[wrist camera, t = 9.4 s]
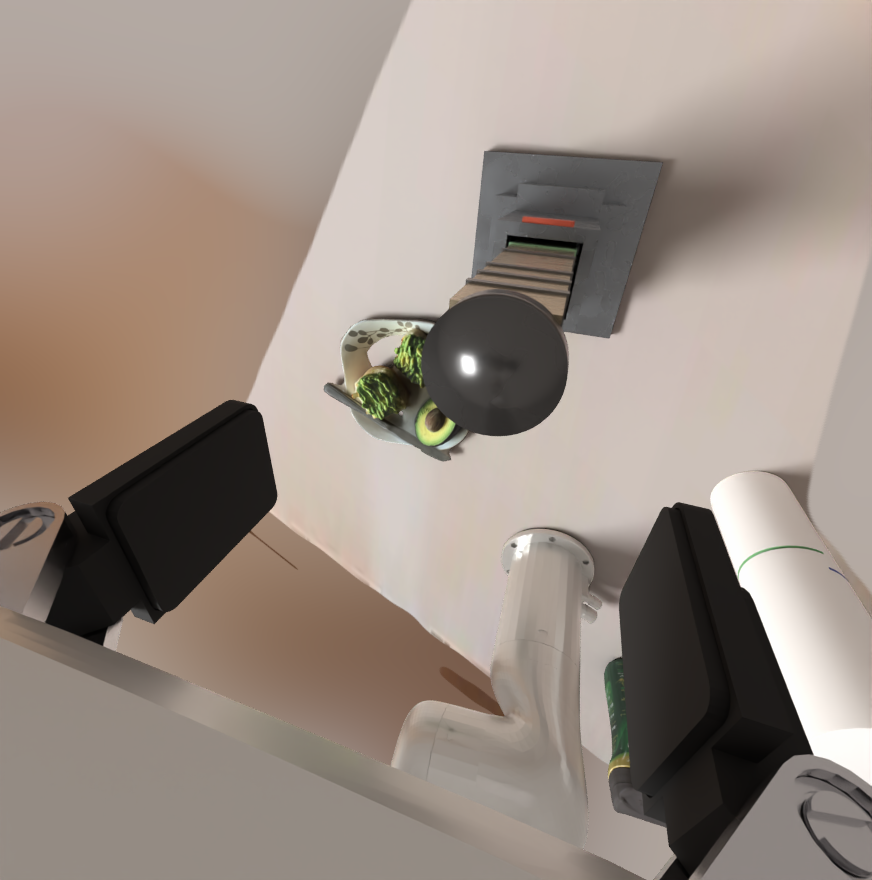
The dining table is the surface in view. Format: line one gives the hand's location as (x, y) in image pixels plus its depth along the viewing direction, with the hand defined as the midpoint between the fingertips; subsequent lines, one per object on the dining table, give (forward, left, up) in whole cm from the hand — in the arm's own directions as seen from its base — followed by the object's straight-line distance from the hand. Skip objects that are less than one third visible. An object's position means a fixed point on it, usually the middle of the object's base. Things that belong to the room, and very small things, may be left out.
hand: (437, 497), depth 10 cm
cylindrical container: (-33, +8, -36) cm, 49 cm away
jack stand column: (0, 0, -28) cm, 28 cm away
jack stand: (0, 0, -36) cm, 36 cm away
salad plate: (+4, +21, -36) cm, 42 cm away
